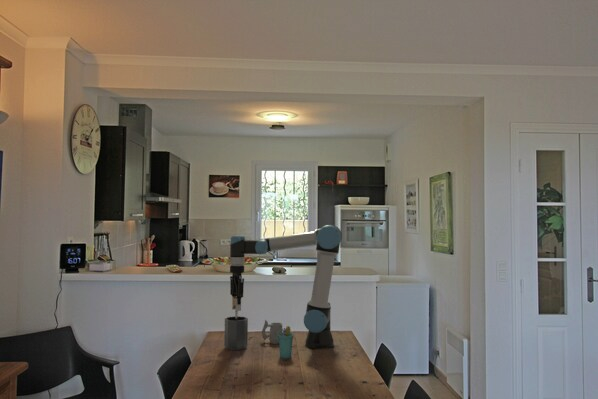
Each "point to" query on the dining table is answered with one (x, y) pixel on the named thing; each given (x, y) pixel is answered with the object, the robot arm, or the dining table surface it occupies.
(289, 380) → the dining table surface
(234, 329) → the press body
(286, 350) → the cup
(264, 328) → the mug
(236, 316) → the plunger
